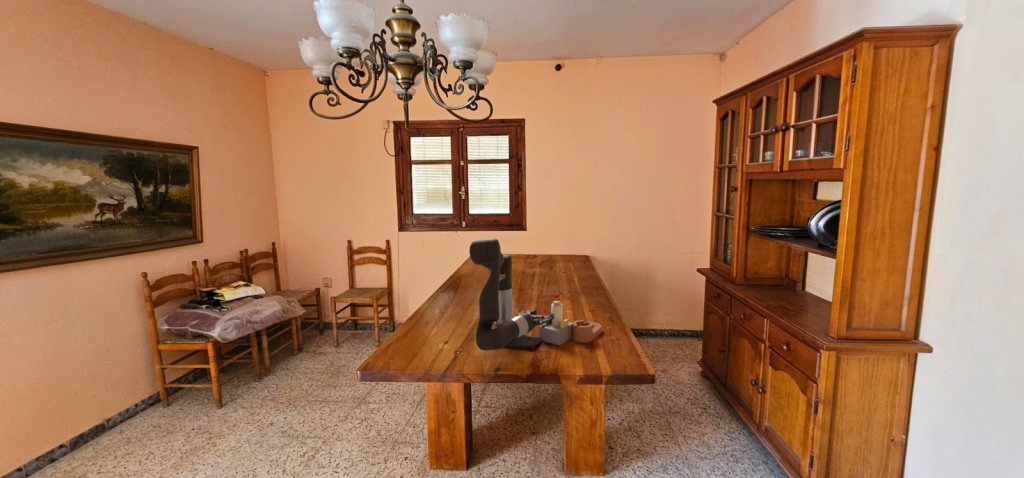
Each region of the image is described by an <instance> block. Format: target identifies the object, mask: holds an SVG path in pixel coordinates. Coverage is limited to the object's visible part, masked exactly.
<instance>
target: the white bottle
mask: <svg viewBox="0 0 1024 478" xmlns="http://www.w3.org/2000/svg"><path fill="white" fill-rule="evenodd" d="M550 305H551V306H550V309H551V310H550V314H552V313H553V314H554V319H552V326H554V327H560V322H562V321H563V319H564V316H563V312H564V311H563V310H564V309H563V308H564V306H563V303H562V301H561V300H554V301H553V302H552V303H551V304H550Z"/></svg>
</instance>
